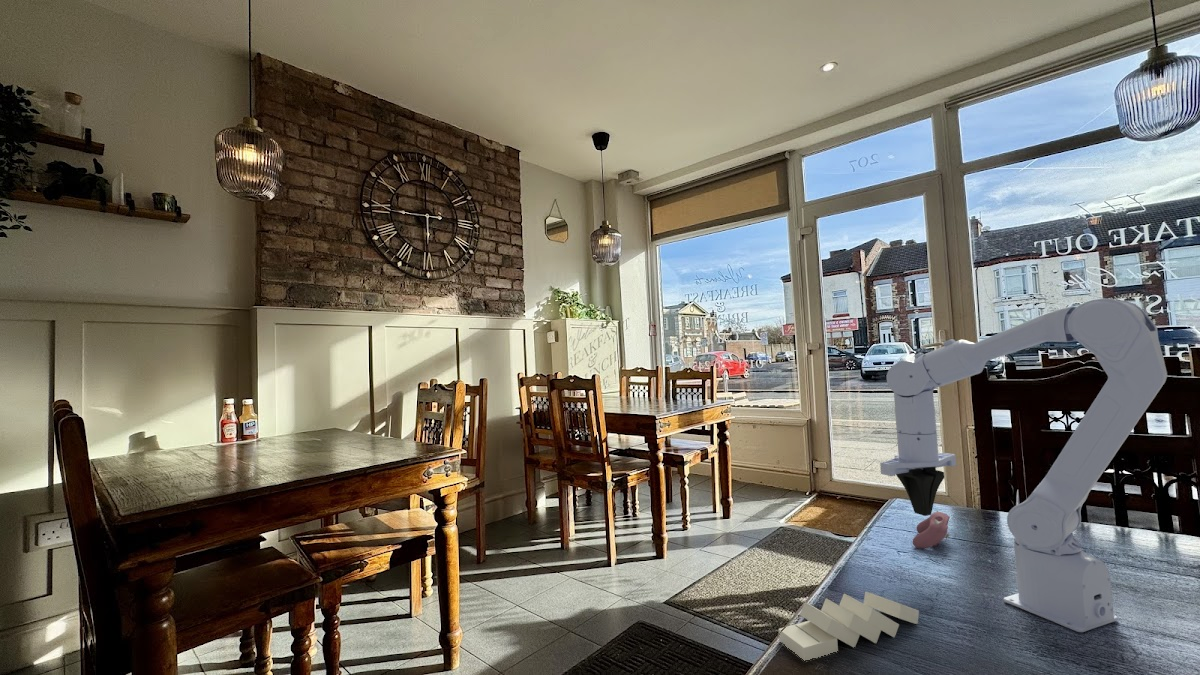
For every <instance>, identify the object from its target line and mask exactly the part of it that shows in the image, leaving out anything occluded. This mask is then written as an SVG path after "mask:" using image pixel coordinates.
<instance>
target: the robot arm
mask: <svg viewBox="0 0 1200 675" xmlns="http://www.w3.org/2000/svg"><path fill="white" fill-rule="evenodd" d="M1158 332H1159V331H1158V327H1157V325H1156V324H1155V323H1154V322H1153V320H1152V319H1151V318H1150V316H1148V314H1147V313H1146V312H1145V311H1144V310H1143V309H1142V308H1141V307H1140V306H1139V305H1137V304H1135V303H1132V302H1130V301H1126V300H1122V299H1113V298H1112V299H1111V298H1105V297H1103V298H1102V297H1101V298H1094V299H1089V300H1086V301H1084V302H1083V303H1080V304H1079V305H1078V306H1076V305H1075V306H1074V305H1070V306H1067V307H1064V308H1063V307H1062V308H1059V309H1056V310H1053V311H1049V312H1047V313H1044V314H1040V315H1039V316H1036V317H1033V318H1032V319H1029V320H1027V321H1024V322H1022V323H1019V324H1017V325H1015V326H1012V327H1010V328H1007V329H1006V330H1003V331H1000V332H998V333H996V334H993V335H991V336H989V337H987V338H984V339H982V340H979V341H977V342H972V341H969V340H966V339H959V340H957V341H956V340H955V339H948V340H946V341H942V342H943V343H942V344H943V346H942V347H939V348H935V349H933V350H931V351H929V352H927V353H925V354H924V353H923V352H918V353H915V354H914V356H913V357H914V360H899V361H898V362H896V363H895V364H893V365H892V366H891V367H890V368H888V371H887V373H886V382H887V386H888V388H889V389H890V390H891V391H892V392H893V398H894V400H893V401H894V414H895V416H894V417H895V425H896V426H895V429H896V440H897V451H898V453H897V454H894V458H891V459H889V460H886V461H881V462H880V463H879V465H880V474H881V475H884V476H888V477H895V476H896V477H897V478H898V480H899V481H900V482H901V484H902V487H903V488H904V489H905V491H906V493H907V495H908V498H909V500H910V504H911V507H912V509H913V512H914V514H917V515H921V516H924V517H927V516H930V515H931V514H933V508H934V502H935V499H936V495H937V492H938V489H939V487H940V485H941V483H942V482H943V481H944V479H945V472H944V471H942V470H937V468H941V467H943V468H944V467H948V466H949V467H956V466H957V460H956V458H957V457H956V454H955V453H947V452H941V453H939V445H938V434H937V423H936V422H937V420H936V410H935V409H936V407H935V401H934V391H935V389H936V388H941V387H944V386H947V385H950V384H953V383H956V382H958V381H960V380H965V379H968V378H970V377H973V376H975V375H979V374H981V373H983V370H984V368H985V366H986V364H987V363H988V362H989V361H991V360H995V359H997V358H1001V357H1004V356H1007V355H1010V354H1013V353H1016V352H1019V351H1021V350H1025V349H1028V348H1031V347H1035V346H1037V345H1040V344H1044V343H1046V342H1053V343H1054V342H1055V343H1071V342H1077V343H1078V344H1080V345H1082V347H1084V348H1085V349H1086V350H1088V351H1089V352H1091V353H1092V354H1093V355H1094V356H1095V358H1096V360H1097V361H1098V363H1099V365H1100V366H1101V367H1102V369H1103V371H1104V372H1105V374H1106V375H1107V380H1106V382H1105V383H1104V385H1103V386H1102V387H1101V390H1100V391H1099V393H1098V394H1097V395H1096V398H1094V400H1093V402H1092V403H1091V405H1090V407H1089V408H1088V410H1087V411H1086V412H1085V415H1084V416H1083V417H1082V419H1081V420H1080V422H1079V423H1078V425H1077V427H1076V428H1075V430H1074V431H1073V433H1072V434H1071V436H1070V438H1068V440H1067V442H1066V443H1065V445H1064V447H1063V448H1062V449H1061V451H1060V453H1059V454H1058V456H1057V458H1056V459H1055V461H1054V462H1053V464H1052V466H1050V469H1049V470H1048V472H1047V473H1046V474H1045V476H1044V478H1043V479H1042V480H1041V481H1040V482H1039V484H1038V485H1037V486H1036V487H1035V488H1034V490H1033V491H1032V492H1031V494H1030V495H1028V497H1027V498H1026V499H1025V500H1024V501H1023V502H1021V503H1018V504H1017V505H1014V506H1013V507H1011V509H1010V510H1009V511H1008V513H1007V516H1006V524H1007V527H1008V530H1009V532H1010V533H1011V534H1012V536H1013V546H1014V548H1013V549H1014V557H1015V559H1014V560H1015V561H1014V562H1015V569H1016V570H1015V571H1016V572H1015V573H1016V581H1017V582H1016V583H1017V593H1015V594H1011V595H1008V596H1005V597H1003V602H1005V603H1007V604H1009V605H1012V606H1014V607H1017V608H1020V609H1021V610H1024V611H1026V612H1029V613H1031V614H1033V615H1036V616H1038V617H1041V618H1044V619H1046V620H1048V621H1050V622H1053V623H1054V624H1058V625H1061V626H1062V627H1065V628H1068V629H1070V630H1073V631H1074V632H1077V633H1084V632H1087V631H1091V630H1093V629H1096V628H1099V627H1101V626H1106V625H1108V624H1111V623H1114V622H1116V621H1118V616H1117V615H1114V614H1115V613H1114V612H1115V611H1114V603H1113V601H1114V600H1113V594H1112V592H1113V591H1112V582H1111V573H1110V571H1109V568H1108V566H1107V565H1106V564H1105V562H1104V561H1101V560H1100V559H1097V558H1095V557H1093V556H1091V555H1089V554H1087V553H1085V551H1083V550H1082V544H1081V543H1080V542H1079V540H1078V539H1077V538H1076V536H1075V535H1074V534H1073V532H1074V533H1075V531H1077V530H1078V529H1079V527H1080V525H1081V523H1082V515H1081V510H1082V507H1083V504H1084V503H1085V502H1086V500H1087V499H1088V496H1089V495H1090V494H1089V493H1090V492H1091V491H1092V489H1093V487H1094V486H1095V485H1096V484H1097V482H1098V480H1099V479H1100V478H1101V476H1102V474H1103V473H1104V472H1105V470H1106V468H1108V466H1109V465H1110V463H1111V461H1112V460H1113V459H1114V457H1115V456H1116V454H1117V453H1118V451H1119V450H1120V448H1121V447H1122V445H1123V444H1124V443H1125V441H1126V440H1127V438H1128V437H1129V435H1130V434H1131V433H1132V431H1133V430H1134V428H1135V426H1136V425H1137V424H1138V422H1139V420H1140V419H1141V418H1142V416H1143V415H1144V413H1146V411H1147V409H1148V408H1149V406H1151V403H1152V402H1153V400H1154V399H1155V398H1156V396H1157V394H1158V393H1159V392H1160V390H1161V389H1162V387H1163V385H1165V383H1166V381H1167V378H1168V371H1167V367H1166V364H1165V363H1166V362H1165V359H1164V355H1163V352H1162V348H1161V343H1160V339H1159V333H1158Z"/></svg>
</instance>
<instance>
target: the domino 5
mask: <svg viewBox="0 0 1200 675" xmlns="http://www.w3.org/2000/svg"><path fill="white" fill-rule="evenodd" d="M862 603H863V604H865V605H867V606H869V607H870V608H872V609H874V610H876V611H878V612H880V613H881V612H882V613H884V614H887V615H889V616H893V617H895V618H898V619H899V620H902V621H906V622H909V623H911V624H916V625H918V623H919V622H918V621H919V616H920V615H919V614H920V609H919V610H918V609H915V608H914V607H910V606H908V605H905V604H902V603H901V602H900V603H899V602H896V601H895V600H892V599H888V598H887V597H883V596H880V595H877V594H874V593H871V592H868V591H865V592H864V598H863V602H862Z"/></svg>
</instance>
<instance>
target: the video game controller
mask: <svg viewBox="0 0 1200 675" xmlns="http://www.w3.org/2000/svg"><path fill="white" fill-rule="evenodd" d="M950 518H951V517H950V516H949V515H948V514H947V513H945V512H940V511H938V510H936V511H935V512H932V513H931V515H929V517H927V518H925V519H923V520H922V521H920V522H919V523H918V524H917V526H916V532H917V533H918V534H916V535H915V536H914V537H913V539H912V545H913V547H915V548H916V549H921V550H922V549H925V550H926V549H929V548H931V547H937V546H938V545H939V544H940V543H941V542H942V540H943V539H945V540H947V539H949V538H950V536H951V535H950V533H949V532H948V529H949V526H948V525H949V522H950V521H949V520H950Z"/></svg>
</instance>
